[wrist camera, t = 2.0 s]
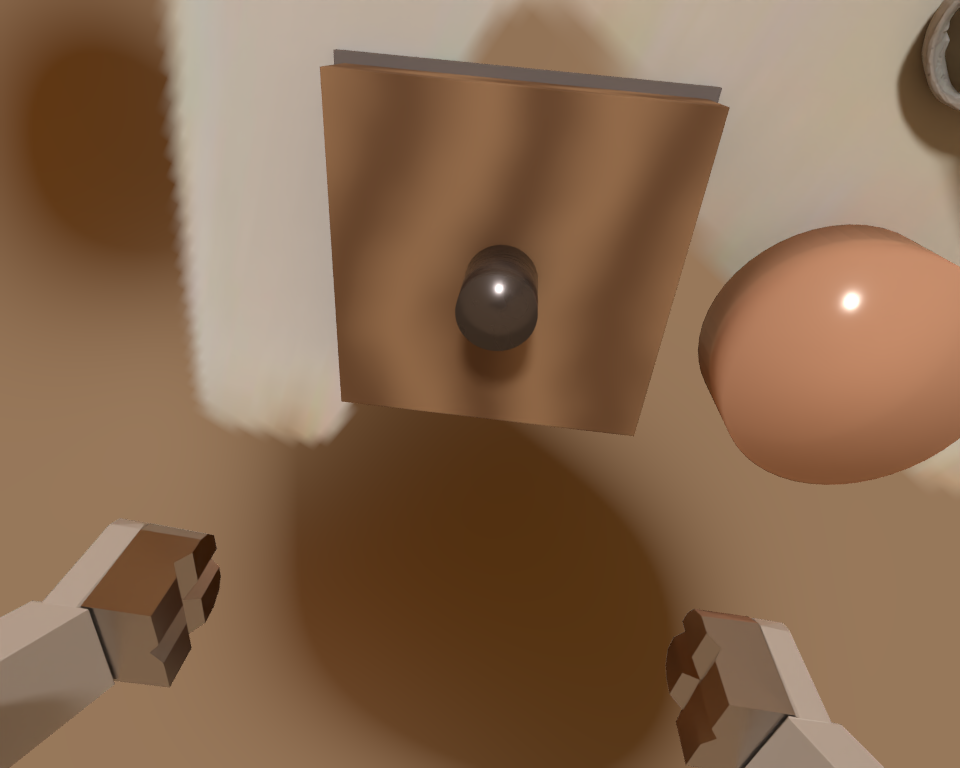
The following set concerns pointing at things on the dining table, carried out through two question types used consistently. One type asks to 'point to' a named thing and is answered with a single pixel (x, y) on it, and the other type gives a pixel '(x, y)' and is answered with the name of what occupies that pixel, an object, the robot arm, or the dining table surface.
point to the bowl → (837, 355)
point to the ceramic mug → (940, 55)
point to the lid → (508, 240)
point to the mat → (528, 74)
